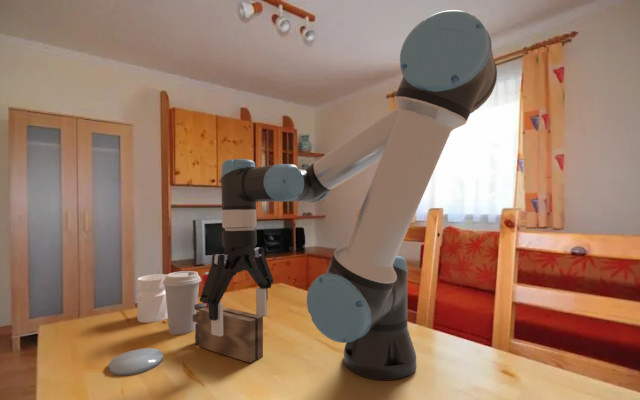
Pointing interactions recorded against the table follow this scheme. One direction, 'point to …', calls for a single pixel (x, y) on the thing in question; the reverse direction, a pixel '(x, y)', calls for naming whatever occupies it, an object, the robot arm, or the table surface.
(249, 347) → the tongs hinged jaw
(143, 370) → the grey domed disc
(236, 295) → the table surface
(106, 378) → the table surface
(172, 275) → the coffee cup
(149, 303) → the vase
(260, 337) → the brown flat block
